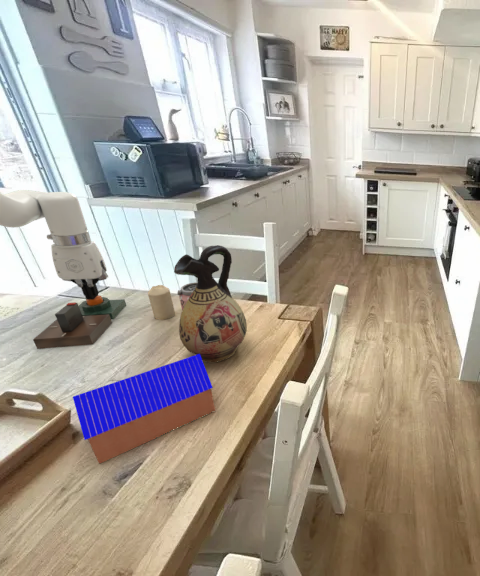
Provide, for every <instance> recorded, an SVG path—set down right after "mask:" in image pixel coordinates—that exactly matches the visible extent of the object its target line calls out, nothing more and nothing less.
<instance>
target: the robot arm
mask: <svg viewBox="0 0 480 576" xmlns="http://www.w3.org/2000/svg"><path fill="white" fill-rule="evenodd" d="M43 218H44V219H45V222H46V224H47V225H46V226H47V227H48V230H49V232H50V234H47V235H46V238H47V240H51V241H52V242H53V244H51V248H50V249H51V258H52V262H53V266H54V269H55V272H56V275H57V277H58V278H59V279H61V280H62V281H64V282H65V281H66V282H71V283H74V284H75V285H77V287H78V288H81V291H82V294H83V296H84V298H85V300H86V299H87V300H88V299H94V298H95V297H97V296H98V295H99V289H98V286H97V284H98V282H100V281H104V280H107V279H108V278H109V275H108V273H107V271H108V270H107V266H106V262H105V260H104V258H103V255H102V253H101V251H100V249H99V248H98V246H97V244H96V242H95V241H93V240H92V239H91V235H90V233H89V230H88V226H87V224H86V221H85V217H84V214H83V210H82V208H81V204H80V201H79V199H78V197H77V196H76V194H74V193H72V192H69V191H51V192H46V191H37V190H29V189H28V190H27V189H19V190H15V191H11V192H7V193H3V192H1V191H0V226H1V227H6V228H12V229H13V228H21V227H25V226H26V225H28V224H30V223H32V222H34V221H38V220H40V219H43Z"/></svg>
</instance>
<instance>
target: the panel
mask: <svg viewBox="0 0 480 576" xmlns="http://www.w3.org/2000/svg"><path fill="white" fill-rule="evenodd" d="M83 319H84V320H83V321H82V322H81V323H80V324H79V325H78V326H77V327H76V328H75V329H74V330H73V331H71V332H62V330H61V328H60V325H59V323H58V321H57V319H56V320H54V321H52V323H50V325H48V326H47V327H46V328H44V330H42V331H41V332H40V333H39V334H38V335H36V336H35V337H34V338H33V339H32V341H33V343H34V345H35V347H36V349H37V350H43V349H56V348H65V347H78V346H92V345H94V344H95V343H96V342H97V341H98V339H100V337H101V336H102V335H103V334H104V333H105V332H106V331H107V329H108V328H109V327H110V326H111V325H112V324H113V321H112V320H111V318H110V315H109V314H107V315H90V316H83Z"/></svg>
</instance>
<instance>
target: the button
mask: <svg viewBox="0 0 480 576" xmlns="http://www.w3.org/2000/svg"><path fill="white" fill-rule="evenodd" d="M102 297H103V296H102V295H99V294H98V296H97V297H95V298H94V299H88V300H87V299H86V298H85V301H87V304H88V305H97V304H100V303H102V302H103V299H102Z"/></svg>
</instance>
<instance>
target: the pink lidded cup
mask: <svg viewBox="0 0 480 576" xmlns="http://www.w3.org/2000/svg"><path fill="white" fill-rule="evenodd" d="M197 284H198V281H197V282H190V283H186V284H184V285H182V286H181V287H180V289H178V290H177V293H176V294H177V296H178V298H179V302H180V306H181V312H182V311H183V308H184V306H185V304H186V303H187V301H188V299H189V297H190V295H191V294H192V292H193V291H194V289H195V288H196V286H197Z"/></svg>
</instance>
